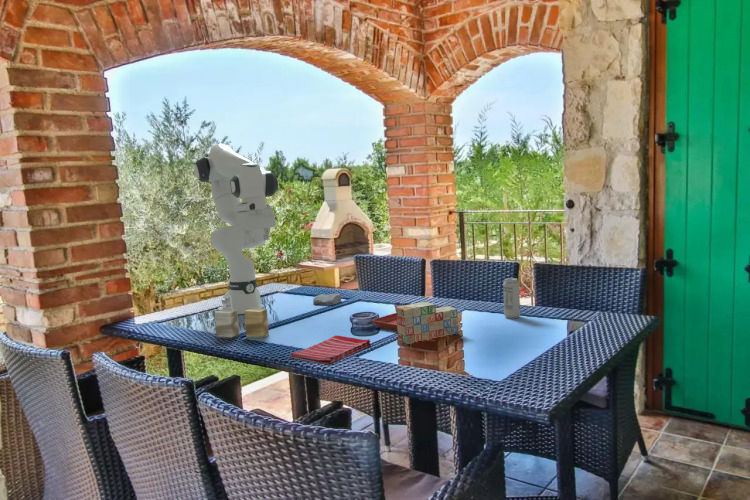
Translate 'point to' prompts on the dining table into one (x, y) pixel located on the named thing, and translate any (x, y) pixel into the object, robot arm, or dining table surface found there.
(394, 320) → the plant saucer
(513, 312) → the energy drink can
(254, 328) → the oak block
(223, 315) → the pine block
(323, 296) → the stone block
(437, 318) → the stack of blocks
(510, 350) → the dining table surface
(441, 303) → the dining table surface
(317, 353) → the dish towel
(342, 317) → the dining table surface
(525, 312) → the dining table surface
